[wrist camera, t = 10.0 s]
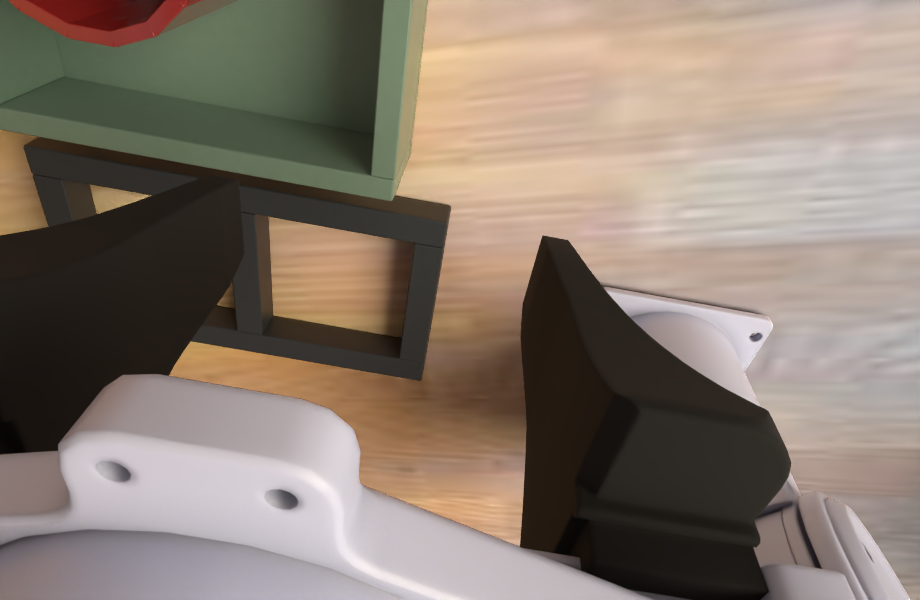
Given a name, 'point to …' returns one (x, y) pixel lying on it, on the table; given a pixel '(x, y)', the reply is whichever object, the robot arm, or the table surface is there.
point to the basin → (234, 90)
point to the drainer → (268, 251)
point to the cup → (115, 17)
